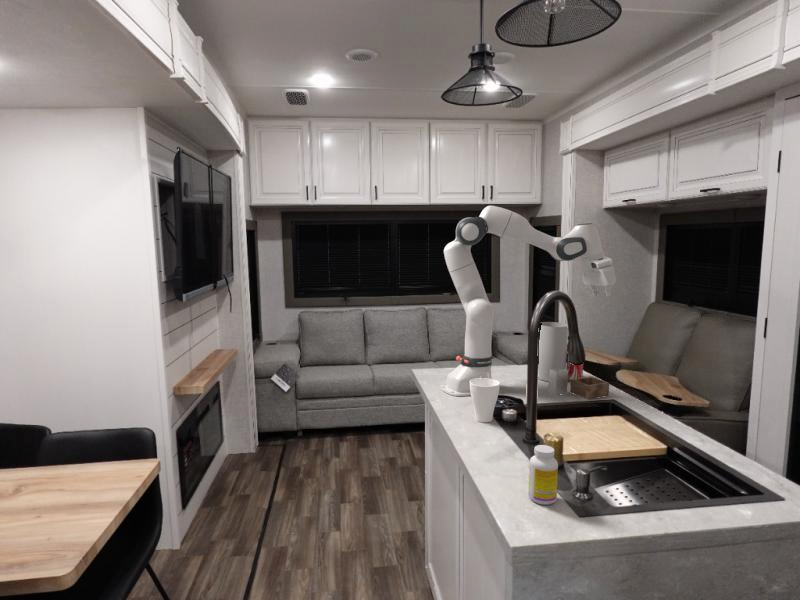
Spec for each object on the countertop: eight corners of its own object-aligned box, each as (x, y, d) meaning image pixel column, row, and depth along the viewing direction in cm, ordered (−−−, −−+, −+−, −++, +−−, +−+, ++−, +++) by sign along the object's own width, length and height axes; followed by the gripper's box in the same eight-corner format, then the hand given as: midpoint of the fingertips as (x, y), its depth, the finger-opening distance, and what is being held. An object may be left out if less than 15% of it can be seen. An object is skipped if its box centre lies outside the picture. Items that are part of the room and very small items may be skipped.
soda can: (580, 378, 228) (581, 350, 227) (584, 382, 221) (585, 354, 219) (564, 377, 229) (565, 349, 227) (567, 382, 222) (569, 353, 220)
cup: (473, 412, 183) (474, 376, 181) (502, 417, 178) (503, 380, 176) (464, 421, 173) (465, 384, 172) (494, 427, 169) (495, 388, 167)
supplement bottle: (562, 503, 120) (564, 452, 119) (537, 507, 119) (540, 456, 117) (546, 490, 127) (548, 441, 125) (523, 493, 125) (525, 444, 123)
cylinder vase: (550, 373, 236) (552, 321, 232) (571, 380, 225) (574, 325, 222) (530, 377, 229) (532, 323, 226) (551, 384, 219) (554, 327, 215)
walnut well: (588, 399, 198) (588, 386, 198) (569, 392, 207) (570, 379, 207) (608, 396, 203) (609, 382, 202) (589, 389, 212) (590, 376, 211)
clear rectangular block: (555, 395, 203) (556, 371, 202) (548, 392, 206) (549, 369, 205) (566, 393, 205) (568, 370, 204) (560, 391, 209) (561, 367, 208)
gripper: (574, 265, 209) (582, 296, 210) (599, 264, 189) (608, 299, 190) (588, 261, 210) (596, 292, 211) (614, 259, 190) (623, 294, 191)
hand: (602, 295), depth 200 cm, fingers open, 8 cm apart
